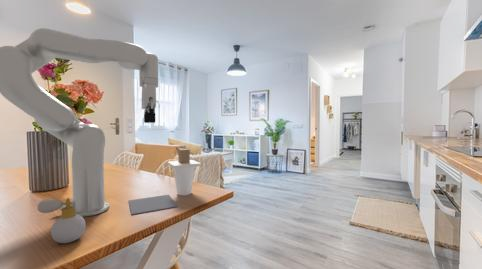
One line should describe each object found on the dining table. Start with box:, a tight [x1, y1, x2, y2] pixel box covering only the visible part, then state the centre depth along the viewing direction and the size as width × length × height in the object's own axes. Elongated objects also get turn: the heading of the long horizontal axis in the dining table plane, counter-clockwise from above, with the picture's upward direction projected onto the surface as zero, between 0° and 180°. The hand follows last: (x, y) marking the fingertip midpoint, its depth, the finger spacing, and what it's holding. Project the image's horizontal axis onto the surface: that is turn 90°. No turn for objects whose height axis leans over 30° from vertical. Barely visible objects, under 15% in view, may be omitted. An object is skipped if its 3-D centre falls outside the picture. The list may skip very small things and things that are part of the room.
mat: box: [128, 194, 179, 216], centre depth 89 cm, size 16×16×1 cm
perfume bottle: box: [37, 197, 86, 244], centre depth 60 cm, size 8×10×12 cm
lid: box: [167, 148, 202, 170], centre depth 103 cm, size 12×12×7 cm
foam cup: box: [173, 167, 196, 196], centre depth 103 cm, size 10×9×13 cm
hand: (149, 122), depth 99 cm, fingers open, 9 cm apart
